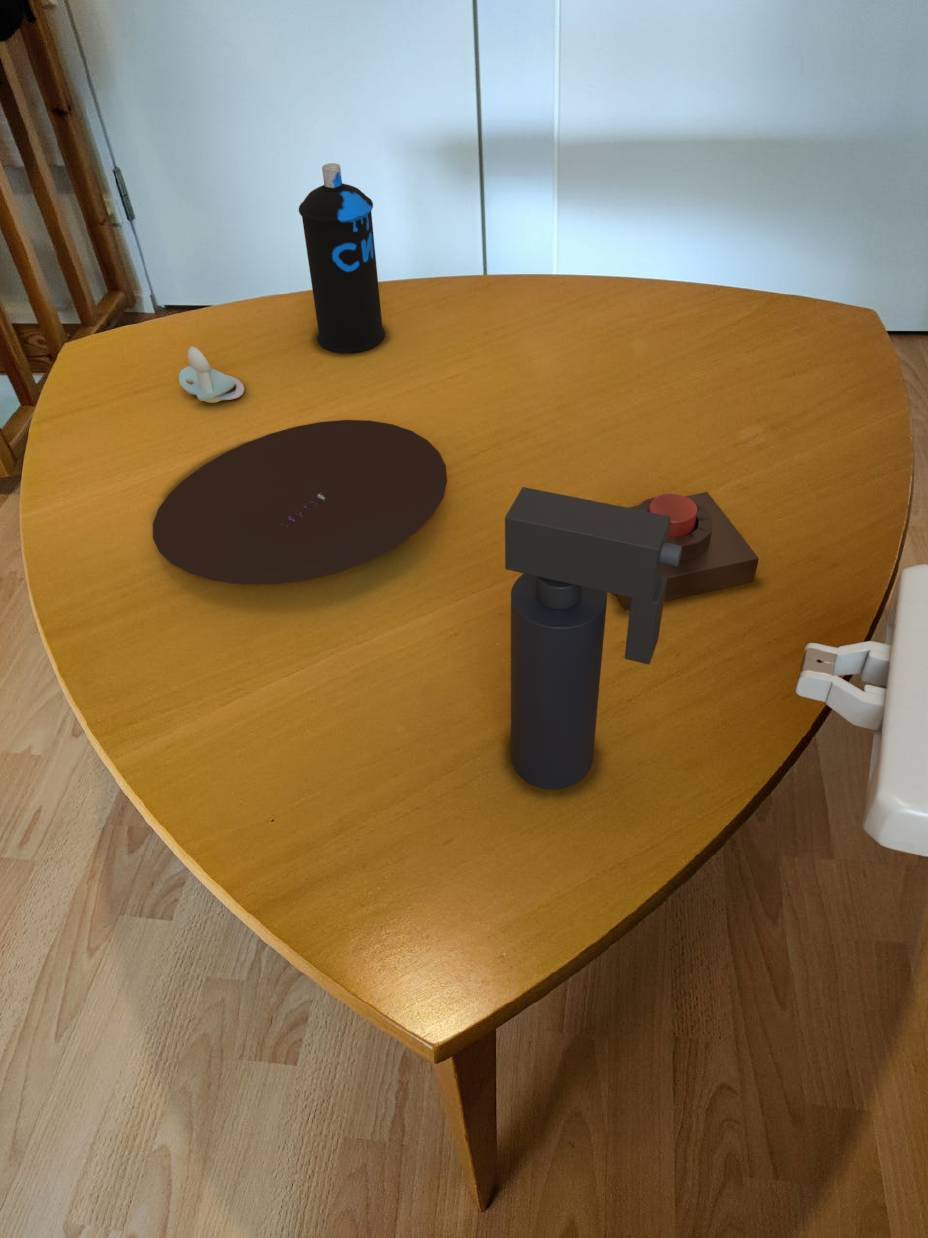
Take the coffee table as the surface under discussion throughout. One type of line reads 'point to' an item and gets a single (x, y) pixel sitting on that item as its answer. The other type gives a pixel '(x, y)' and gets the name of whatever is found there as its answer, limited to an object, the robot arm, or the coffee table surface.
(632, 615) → the block
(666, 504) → the button
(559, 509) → the spray bottle
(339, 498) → the plate
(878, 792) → the robot arm
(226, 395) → the pacifier
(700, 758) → the coffee table surface
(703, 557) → the button block
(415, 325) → the coffee table surface
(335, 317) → the aerosol can
